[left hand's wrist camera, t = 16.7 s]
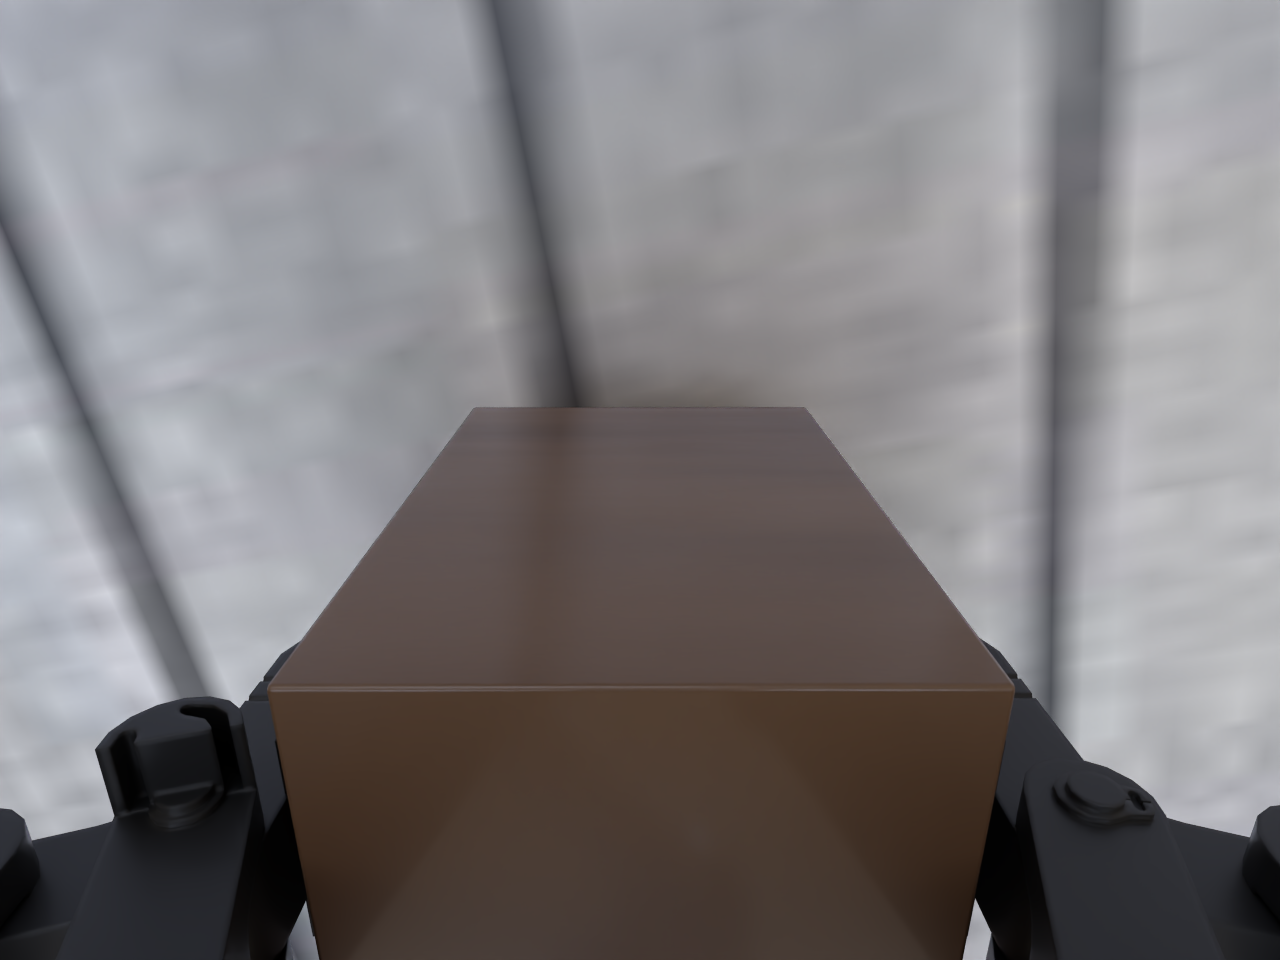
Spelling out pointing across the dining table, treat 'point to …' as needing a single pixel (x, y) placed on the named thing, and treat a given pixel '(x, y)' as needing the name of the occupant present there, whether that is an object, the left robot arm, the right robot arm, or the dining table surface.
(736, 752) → the bar
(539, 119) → the dining table surface
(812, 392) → the dining table surface
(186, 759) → the left robot arm
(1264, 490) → the dining table surface
